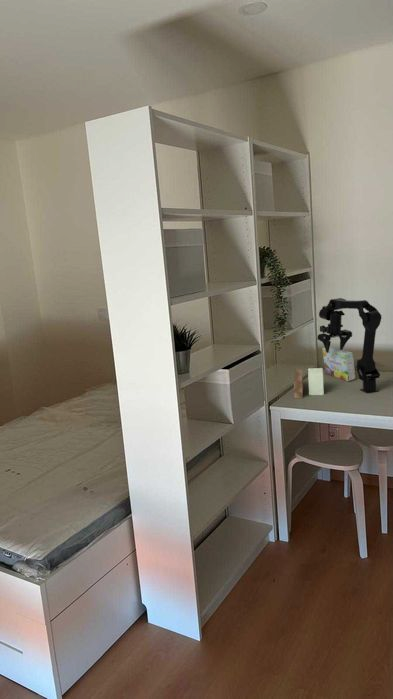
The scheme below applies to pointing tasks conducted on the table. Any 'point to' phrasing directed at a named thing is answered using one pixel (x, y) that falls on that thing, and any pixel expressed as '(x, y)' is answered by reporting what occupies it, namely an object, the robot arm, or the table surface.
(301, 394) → the backstop board
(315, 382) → the green block
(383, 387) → the table surface
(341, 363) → the snack box
